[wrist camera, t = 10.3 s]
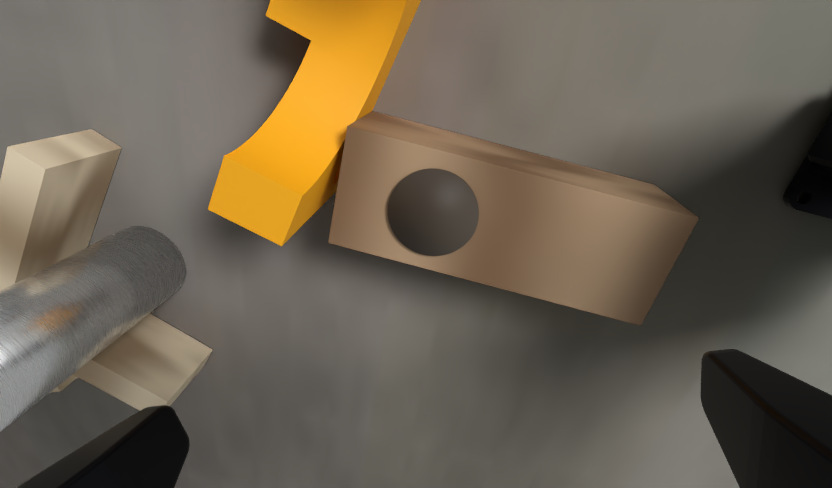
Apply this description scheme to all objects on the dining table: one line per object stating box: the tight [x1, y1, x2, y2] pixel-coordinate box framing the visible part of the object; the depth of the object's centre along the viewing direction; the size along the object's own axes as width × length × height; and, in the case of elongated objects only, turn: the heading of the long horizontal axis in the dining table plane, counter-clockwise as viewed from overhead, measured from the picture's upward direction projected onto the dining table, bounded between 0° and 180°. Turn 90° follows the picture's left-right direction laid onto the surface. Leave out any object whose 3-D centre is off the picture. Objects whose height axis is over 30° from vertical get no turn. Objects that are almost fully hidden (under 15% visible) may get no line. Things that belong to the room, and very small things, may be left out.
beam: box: [328, 111, 699, 326], centre depth 17 cm, size 12×4×4 cm, turn 77°
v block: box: [0, 129, 213, 411], centre depth 22 cm, size 10×13×4 cm
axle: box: [0, 226, 186, 432], centre depth 17 cm, size 4×4×12 cm
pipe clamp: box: [208, 0, 421, 246], centre depth 15 cm, size 12×4×6 cm, turn 153°
